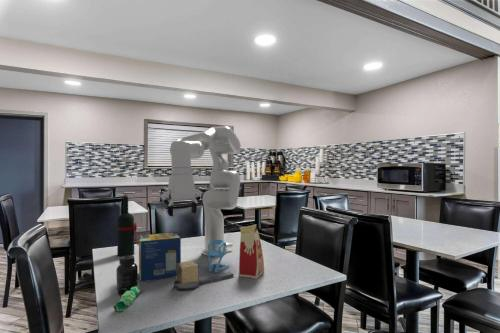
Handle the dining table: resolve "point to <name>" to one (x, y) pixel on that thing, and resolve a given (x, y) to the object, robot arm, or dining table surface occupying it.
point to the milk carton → (250, 253)
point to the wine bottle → (126, 231)
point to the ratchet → (202, 281)
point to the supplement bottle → (126, 274)
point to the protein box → (159, 256)
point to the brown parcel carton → (187, 272)
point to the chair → (217, 255)
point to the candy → (127, 298)
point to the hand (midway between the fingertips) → (182, 214)
